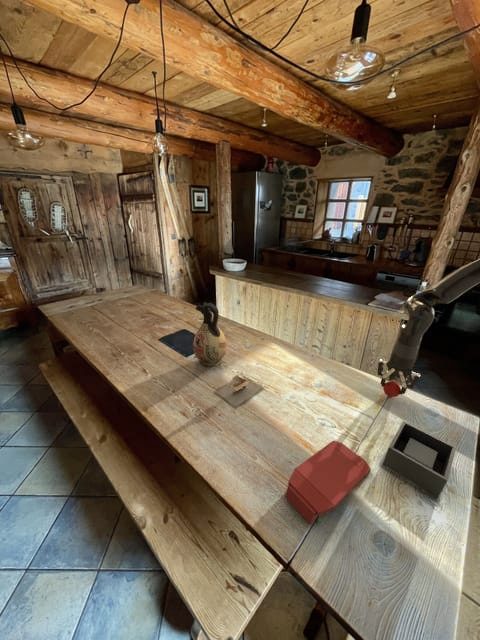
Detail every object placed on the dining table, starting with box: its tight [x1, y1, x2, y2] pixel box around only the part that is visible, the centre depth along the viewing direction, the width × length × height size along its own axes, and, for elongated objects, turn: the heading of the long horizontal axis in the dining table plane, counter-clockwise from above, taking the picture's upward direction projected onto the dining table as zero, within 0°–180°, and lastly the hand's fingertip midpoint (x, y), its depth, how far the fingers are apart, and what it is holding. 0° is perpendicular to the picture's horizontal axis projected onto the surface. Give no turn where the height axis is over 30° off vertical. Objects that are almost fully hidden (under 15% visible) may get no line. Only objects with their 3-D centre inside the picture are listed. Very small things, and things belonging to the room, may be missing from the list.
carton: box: [284, 439, 372, 525], centre depth 73 cm, size 12×5×25 cm
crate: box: [382, 420, 457, 499], centre depth 76 cm, size 14×14×8 cm
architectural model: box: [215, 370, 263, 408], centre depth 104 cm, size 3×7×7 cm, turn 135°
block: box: [403, 438, 438, 470], centre depth 76 cm, size 7×7×5 cm
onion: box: [382, 379, 402, 398], centre depth 102 cm, size 6×6×8 cm
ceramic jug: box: [192, 302, 228, 367], centre depth 117 cm, size 17×15×30 cm
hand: (391, 389), depth 102 cm, fingers closed on onion, 6 cm apart
